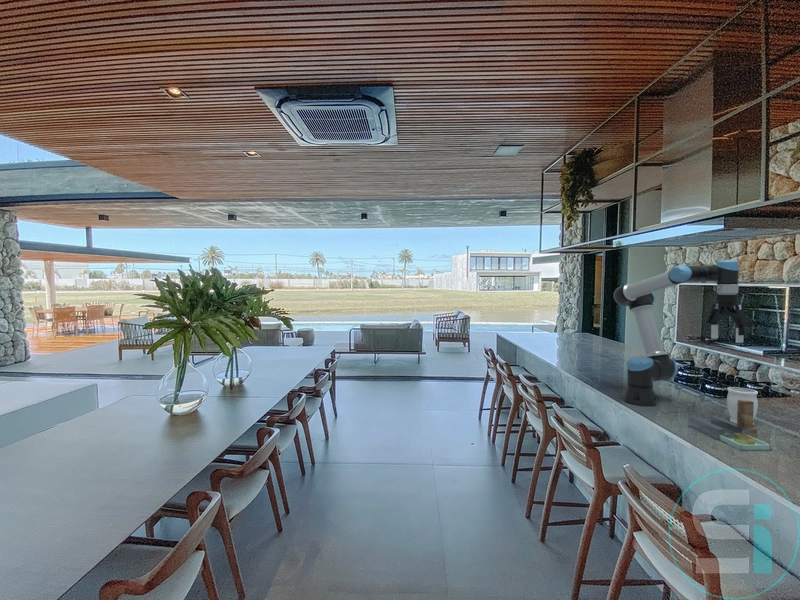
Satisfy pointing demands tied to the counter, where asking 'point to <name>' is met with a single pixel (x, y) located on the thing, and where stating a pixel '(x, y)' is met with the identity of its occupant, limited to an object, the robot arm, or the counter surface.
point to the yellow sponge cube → (747, 440)
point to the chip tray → (757, 447)
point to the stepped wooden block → (746, 416)
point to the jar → (740, 394)
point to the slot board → (717, 427)
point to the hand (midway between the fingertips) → (726, 340)
